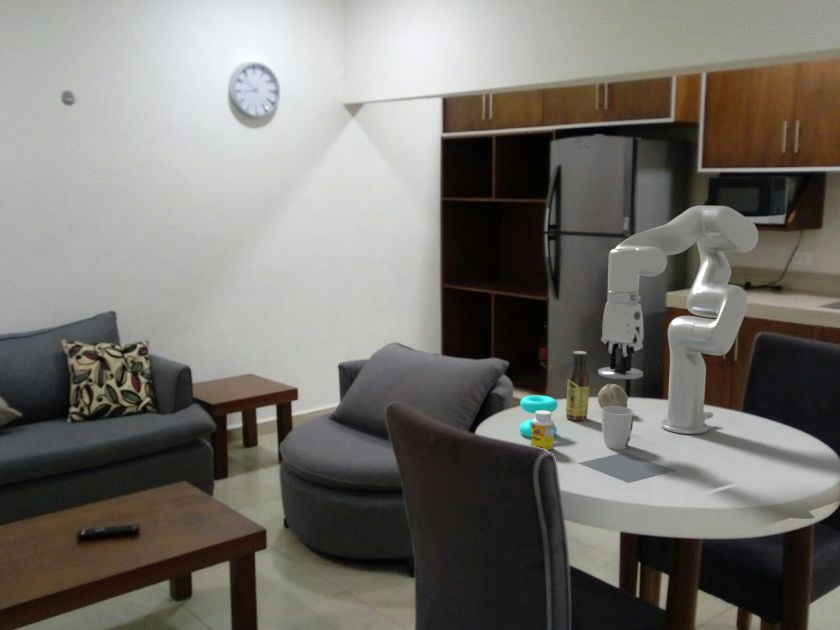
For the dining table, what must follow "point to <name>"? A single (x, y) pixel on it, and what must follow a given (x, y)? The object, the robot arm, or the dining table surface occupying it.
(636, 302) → the robot arm
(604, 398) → the garlic bulb
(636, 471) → the mat
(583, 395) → the sauce bottle
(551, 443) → the supplement bottle
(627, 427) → the cup
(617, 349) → the lid
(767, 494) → the dining table surface
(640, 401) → the dining table surface
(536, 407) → the donuts
